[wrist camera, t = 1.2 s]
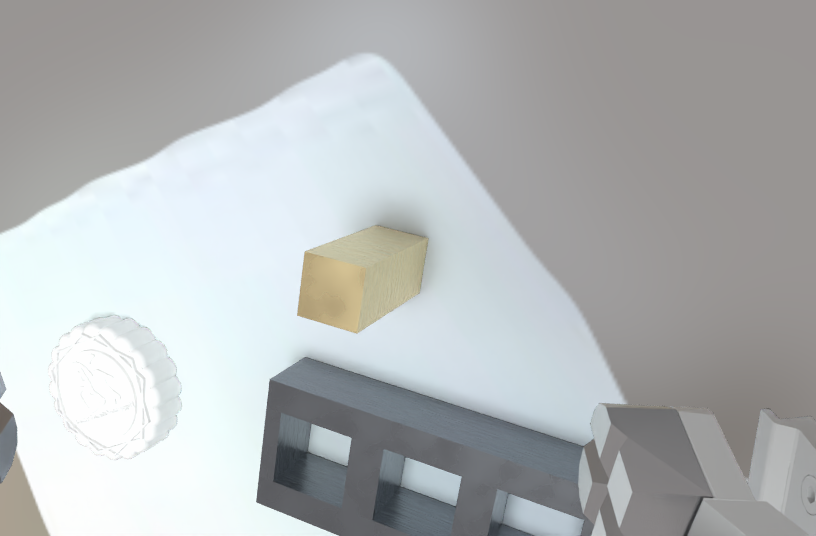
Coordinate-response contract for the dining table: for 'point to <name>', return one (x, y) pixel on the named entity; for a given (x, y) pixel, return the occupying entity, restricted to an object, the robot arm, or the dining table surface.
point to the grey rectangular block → (403, 459)
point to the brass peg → (361, 277)
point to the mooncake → (114, 387)
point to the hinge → (786, 467)
